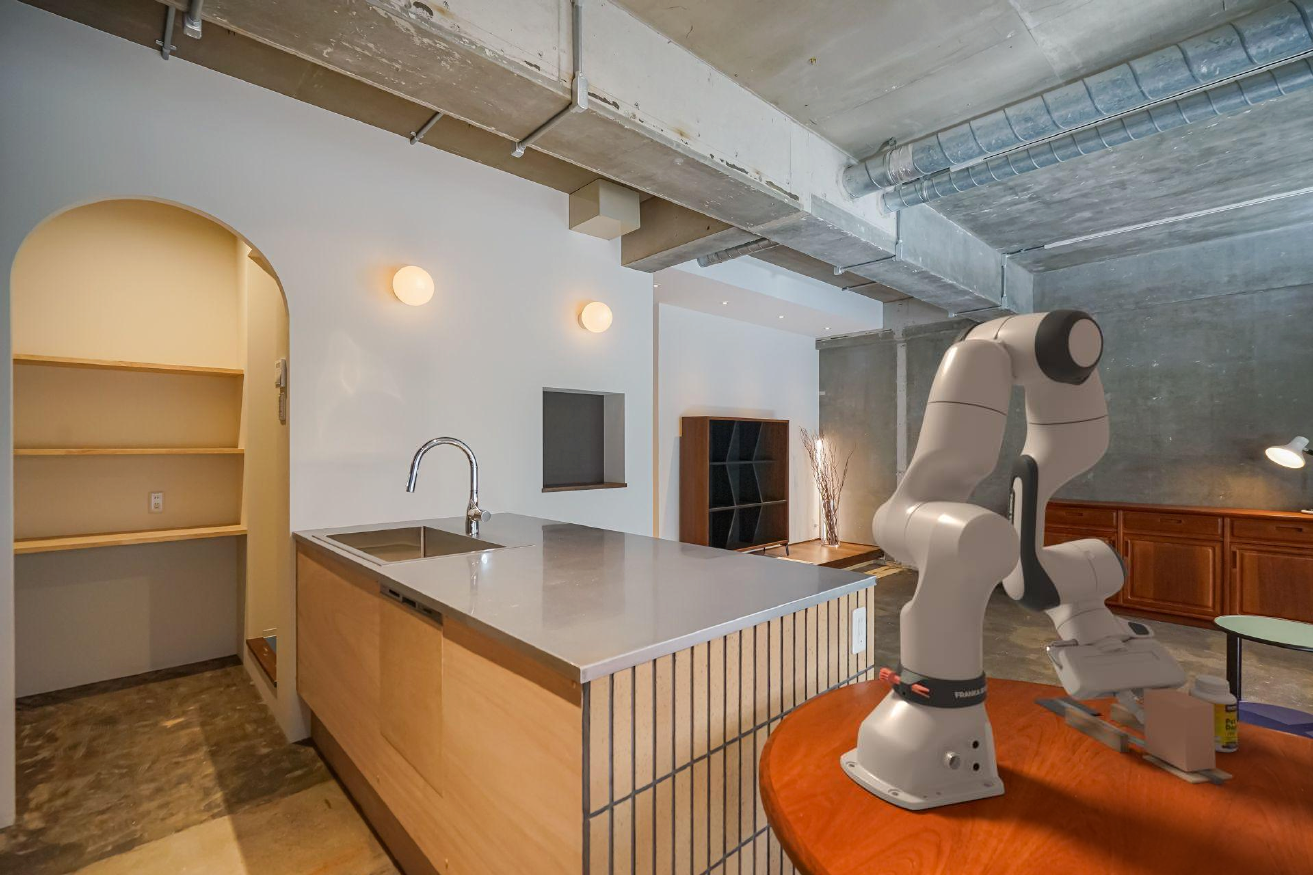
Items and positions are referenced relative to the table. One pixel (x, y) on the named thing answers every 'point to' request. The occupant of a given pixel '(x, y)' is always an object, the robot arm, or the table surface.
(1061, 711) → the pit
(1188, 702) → the block
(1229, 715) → the supplement bottle
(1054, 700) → the track
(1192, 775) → the mat
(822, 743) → the table surface
